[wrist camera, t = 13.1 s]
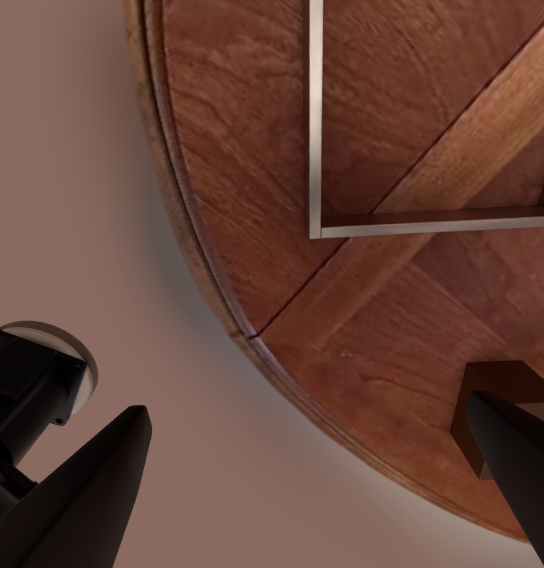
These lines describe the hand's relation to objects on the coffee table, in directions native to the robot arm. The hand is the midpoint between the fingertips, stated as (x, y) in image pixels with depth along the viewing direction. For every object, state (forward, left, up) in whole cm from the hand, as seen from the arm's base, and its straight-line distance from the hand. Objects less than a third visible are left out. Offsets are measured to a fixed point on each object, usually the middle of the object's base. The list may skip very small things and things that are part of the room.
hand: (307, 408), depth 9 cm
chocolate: (-3, -19, -12) cm, 23 cm away
